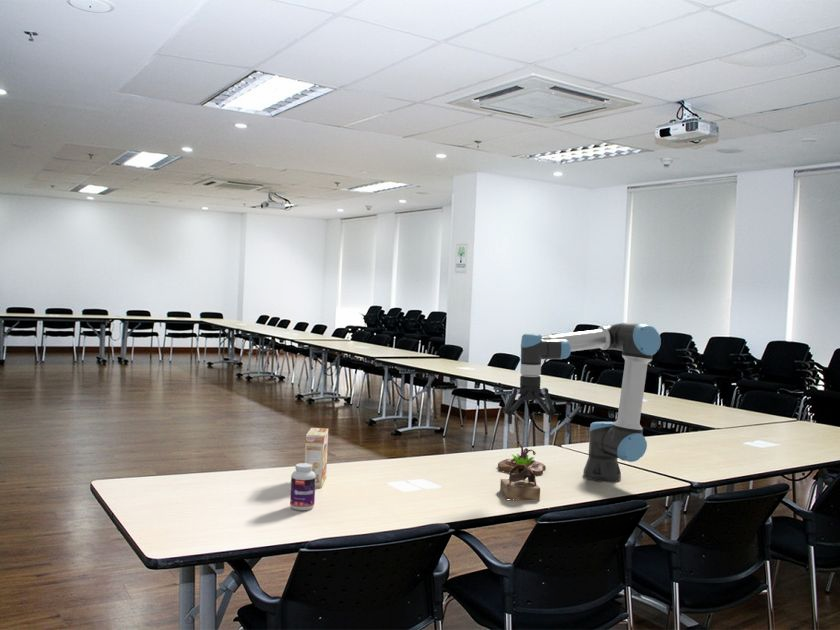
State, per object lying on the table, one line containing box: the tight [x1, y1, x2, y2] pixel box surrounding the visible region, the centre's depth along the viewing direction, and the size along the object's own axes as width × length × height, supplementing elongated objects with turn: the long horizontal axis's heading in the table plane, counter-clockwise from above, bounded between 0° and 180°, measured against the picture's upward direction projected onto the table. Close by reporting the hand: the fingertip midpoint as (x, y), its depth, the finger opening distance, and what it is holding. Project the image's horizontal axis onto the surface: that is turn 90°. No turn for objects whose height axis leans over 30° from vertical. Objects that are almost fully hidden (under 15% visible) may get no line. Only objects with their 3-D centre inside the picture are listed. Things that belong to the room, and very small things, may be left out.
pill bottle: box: [289, 462, 316, 512], centre depth 239 cm, size 8×8×14 cm
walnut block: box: [499, 478, 541, 502], centre depth 265 cm, size 12×12×5 cm
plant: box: [497, 443, 547, 477], centre depth 305 cm, size 20×20×11 cm
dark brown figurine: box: [508, 464, 537, 486], centre depth 265 cm, size 12×10×8 cm
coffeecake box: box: [304, 427, 329, 489], centre depth 271 cm, size 15×7×20 cm, turn 0°
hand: (528, 432), depth 268 cm, fingers open, 13 cm apart
